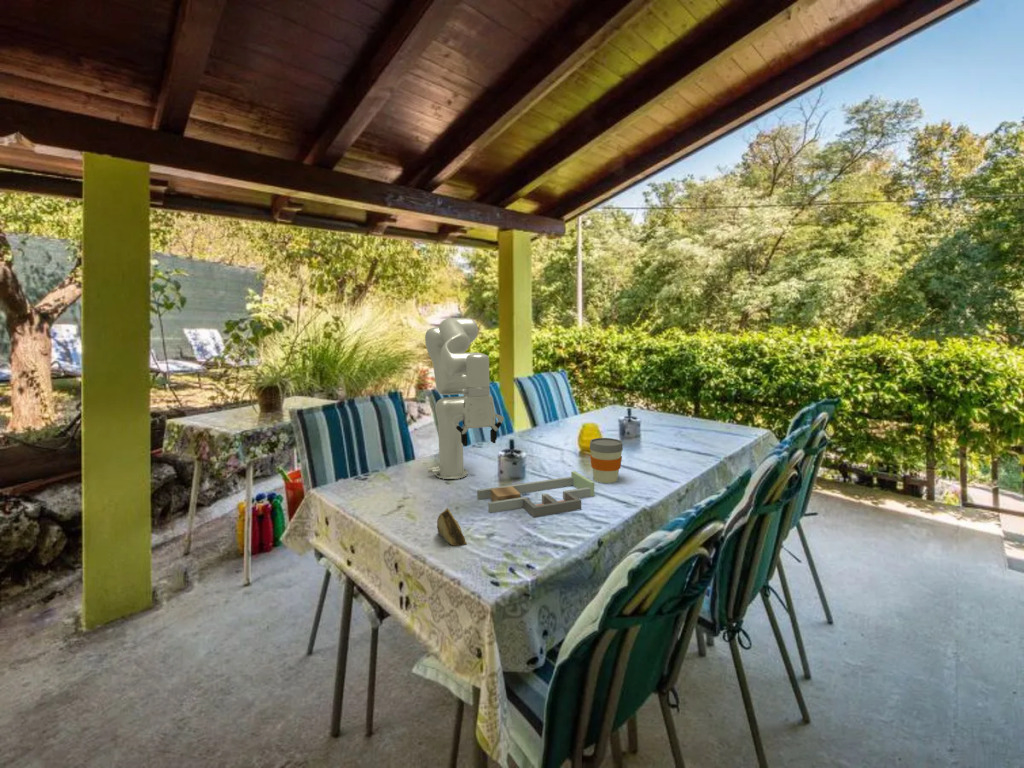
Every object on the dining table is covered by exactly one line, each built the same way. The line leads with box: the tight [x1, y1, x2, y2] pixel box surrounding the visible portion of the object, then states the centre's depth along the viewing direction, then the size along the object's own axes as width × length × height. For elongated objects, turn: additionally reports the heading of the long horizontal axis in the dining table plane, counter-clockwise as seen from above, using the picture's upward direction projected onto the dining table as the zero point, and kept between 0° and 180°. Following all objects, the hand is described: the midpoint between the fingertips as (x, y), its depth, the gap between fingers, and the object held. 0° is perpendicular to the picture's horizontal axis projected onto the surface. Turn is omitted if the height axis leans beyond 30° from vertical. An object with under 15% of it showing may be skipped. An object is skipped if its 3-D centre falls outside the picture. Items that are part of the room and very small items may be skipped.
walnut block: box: [490, 486, 522, 502], centre depth 161 cm, size 8×8×4 cm
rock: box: [436, 507, 467, 546], centre depth 134 cm, size 11×9×10 cm
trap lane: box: [476, 470, 595, 518], centre depth 161 cm, size 38×22×5 cm, turn 111°
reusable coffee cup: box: [589, 437, 624, 484], centre depth 183 cm, size 13×13×15 cm
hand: (479, 443), depth 156 cm, fingers open, 9 cm apart
